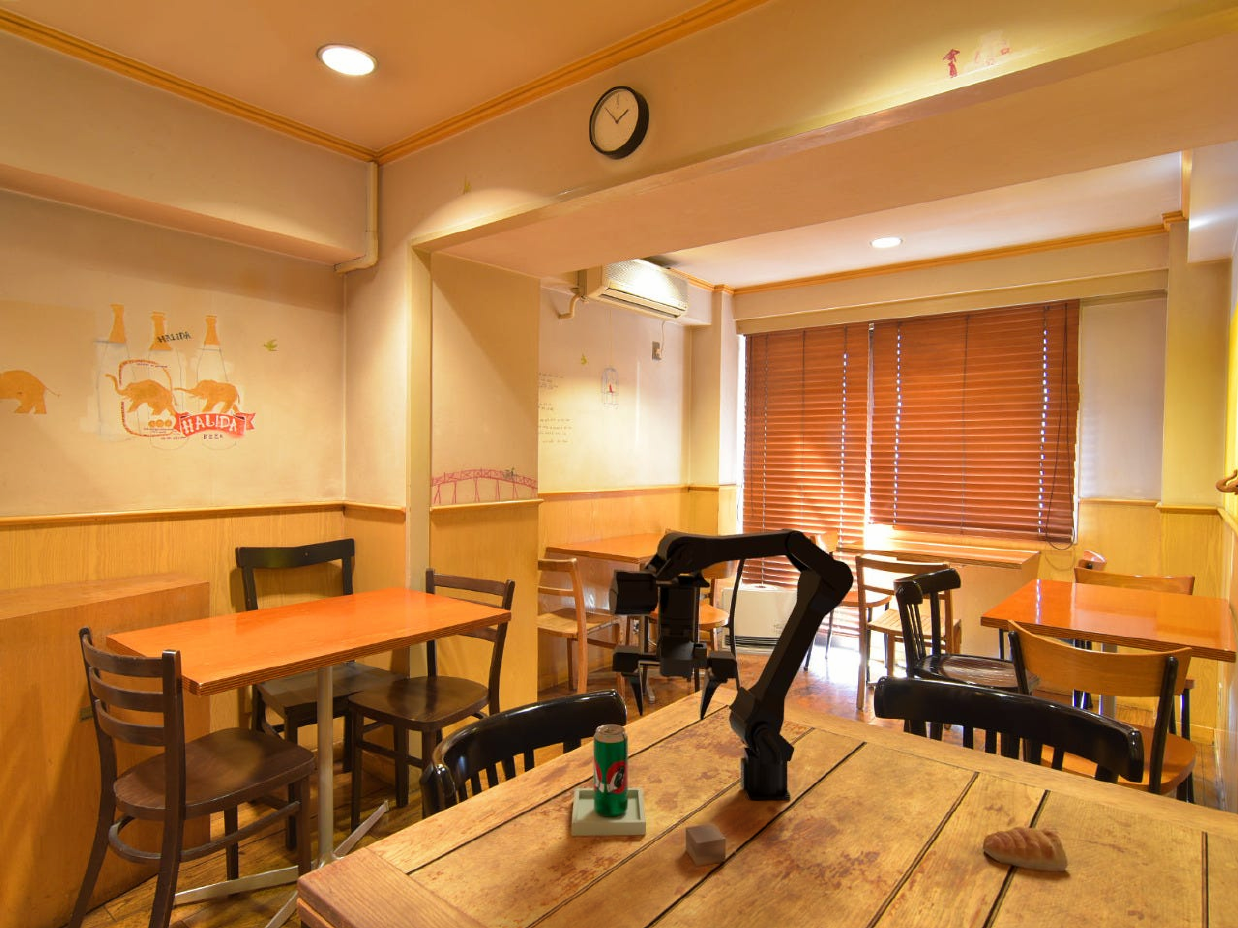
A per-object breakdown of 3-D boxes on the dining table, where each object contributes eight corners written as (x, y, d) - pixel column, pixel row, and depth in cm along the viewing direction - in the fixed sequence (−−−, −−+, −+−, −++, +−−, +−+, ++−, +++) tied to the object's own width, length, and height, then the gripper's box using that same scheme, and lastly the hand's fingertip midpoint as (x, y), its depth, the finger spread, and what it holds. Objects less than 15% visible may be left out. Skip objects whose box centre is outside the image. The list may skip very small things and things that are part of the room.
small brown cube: (713, 845, 97) (713, 823, 97) (725, 861, 93) (725, 838, 93) (685, 849, 96) (685, 827, 96) (697, 866, 92) (697, 843, 92)
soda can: (632, 805, 106) (632, 725, 106) (620, 821, 101) (620, 738, 101) (601, 799, 108) (601, 721, 108) (588, 815, 103) (587, 733, 103)
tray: (642, 799, 110) (642, 787, 110) (646, 834, 99) (646, 822, 99) (575, 799, 110) (575, 788, 110) (571, 835, 99) (571, 822, 99)
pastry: (995, 871, 91) (995, 841, 91) (974, 843, 98) (973, 815, 98) (1073, 875, 90) (1073, 844, 90) (1045, 846, 97) (1045, 818, 97)
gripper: (613, 623, 101) (607, 733, 101) (744, 631, 101) (739, 741, 101) (616, 608, 112) (611, 706, 112) (734, 614, 112) (729, 714, 112)
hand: (671, 717), depth 109 cm, fingers open, 9 cm apart
